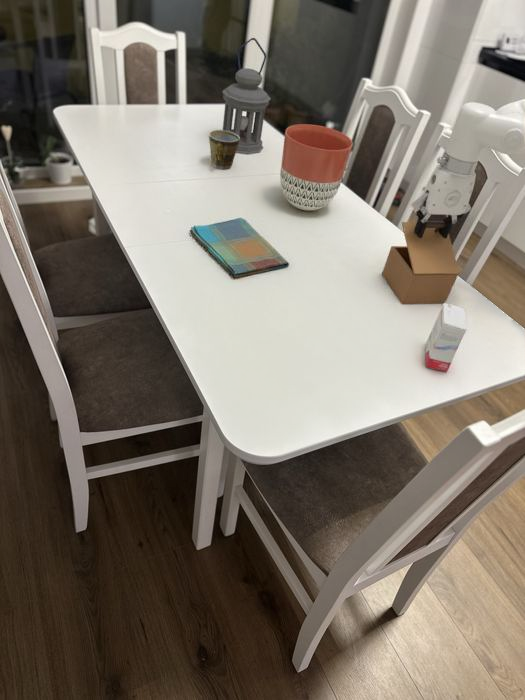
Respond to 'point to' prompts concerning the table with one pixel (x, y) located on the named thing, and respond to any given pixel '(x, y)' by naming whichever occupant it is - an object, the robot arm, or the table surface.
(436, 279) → the carton
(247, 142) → the lantern
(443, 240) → the flap
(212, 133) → the ceramic cup
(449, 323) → the ink box
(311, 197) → the planter
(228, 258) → the dish towel
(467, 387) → the table surface
